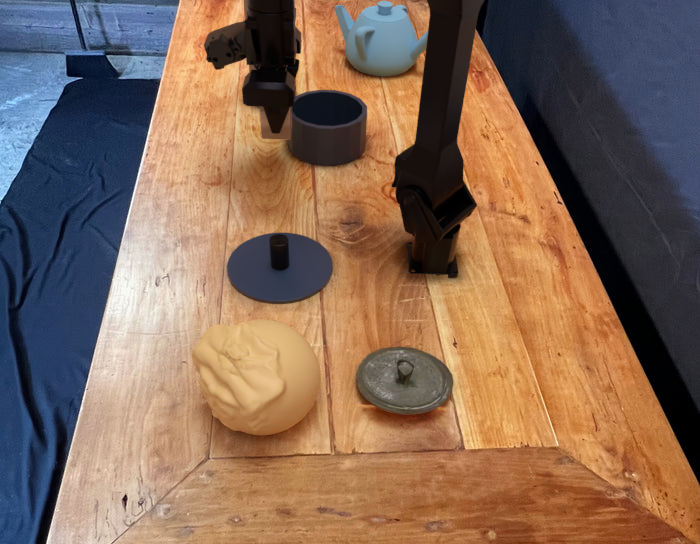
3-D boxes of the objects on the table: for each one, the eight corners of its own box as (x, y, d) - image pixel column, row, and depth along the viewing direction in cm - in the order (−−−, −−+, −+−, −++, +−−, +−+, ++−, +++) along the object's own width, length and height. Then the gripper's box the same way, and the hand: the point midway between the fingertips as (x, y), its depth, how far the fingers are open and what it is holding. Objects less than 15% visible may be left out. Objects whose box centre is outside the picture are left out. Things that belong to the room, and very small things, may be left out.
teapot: (358, 87, 118) (361, 24, 109) (332, 50, 129) (333, -10, 120) (433, 79, 121) (442, 17, 113) (401, 43, 132) (407, -15, 124)
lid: (384, 445, 66) (397, 425, 62) (336, 370, 69) (345, 347, 65) (460, 404, 70) (477, 384, 66) (410, 336, 74) (424, 312, 69)
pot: (365, 167, 99) (367, 129, 94) (285, 164, 99) (284, 126, 94) (364, 127, 108) (366, 91, 103) (291, 124, 107) (290, 88, 103)
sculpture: (186, 402, 67) (168, 331, 59) (276, 348, 72) (270, 278, 64) (248, 473, 61) (238, 406, 53) (341, 409, 67) (344, 340, 59)
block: (290, 140, 87) (289, 112, 84) (261, 138, 87) (259, 111, 84) (292, 125, 90) (291, 98, 87) (264, 124, 90) (262, 97, 87)
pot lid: (331, 309, 77) (332, 277, 73) (220, 305, 77) (215, 273, 73) (333, 240, 86) (334, 209, 83) (235, 237, 86) (231, 205, 82)
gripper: (215, -24, 82) (228, 92, 94) (191, 33, 70) (209, 158, 81) (300, -20, 83) (302, 95, 94) (291, 37, 70) (295, 161, 82)
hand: (277, 125), depth 88 cm, fingers closed on block, 4 cm apart
